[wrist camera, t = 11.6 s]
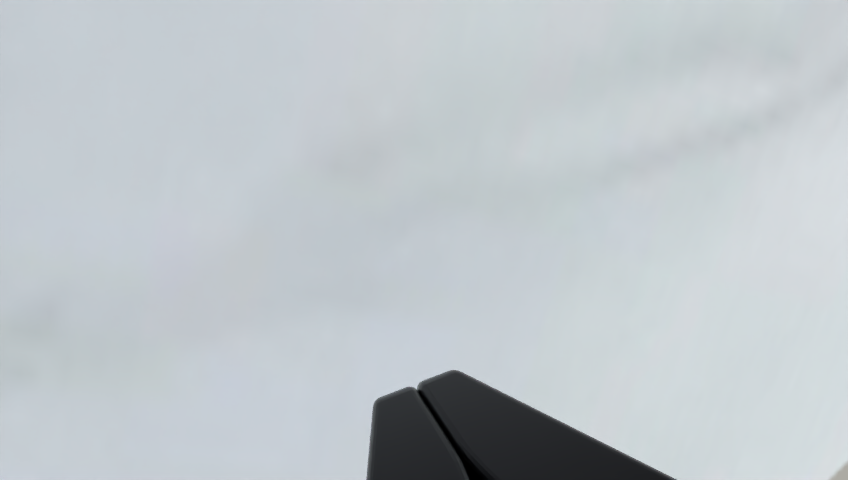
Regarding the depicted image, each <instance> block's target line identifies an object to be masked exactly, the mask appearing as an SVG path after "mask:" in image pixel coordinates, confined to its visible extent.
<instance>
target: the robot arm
mask: <svg viewBox="0 0 848 480" xmlns="http://www.w3.org/2000/svg"><path fill="white" fill-rule="evenodd" d="M366 480H676V479H674V478H672V477H670V476H668V475H666V474H664V473H662V472H660V471H658V470H656V469H654V468H652V467H650V466H648V465H646V464H644V463H642V462H640V461H638V460H636V459H634V458H632V457H630V456H628V455H626V454H624V453H622V452H620V451H618V450H616V449H614V448H612V447H610V446H608V445H606V444H604V443H602V442H600V441H598V440H596V439H594V438H592V437H590V436H588V435H586V434H584V433H582V432H580V431H578V430H576V429H574V428H572V427H570V426H568V425H566V424H564V423H562V422H560V421H558V420H556V419H554V418H552V417H550V416H548V415H546V414H544V413H542V412H540V411H538V410H536V409H534V408H532V407H530V406H528V405H526V404H524V403H522V402H520V401H518V400H516V399H514V398H512V397H510V396H508V395H506V394H504V393H502V392H500V391H498V390H496V389H494V388H492V387H490V386H488V385H486V384H484V383H482V382H480V381H478V380H476V379H474V378H472V377H470V376H468V375H466V374H464V373H462V372H460V371H456V370H451V371H447V372H445V373H442V374H440V375H437V376H434V377H432V378H429V379H427V380H424V381H422V382H420V383H419V385H418V387H417V390H416V389H415V388H413V387H406V388H403V389H401V390H398V391H395V392H393V393H390V394H388V395H385V396H382V397H380V398H378V399H377V400H376V401H375V403H374V405H373V413H372V424H371V435H370V446H369V457H368V468H367V479H366Z"/></svg>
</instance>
